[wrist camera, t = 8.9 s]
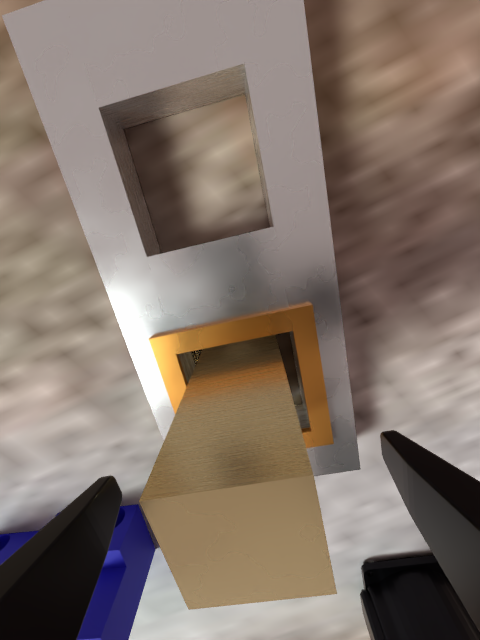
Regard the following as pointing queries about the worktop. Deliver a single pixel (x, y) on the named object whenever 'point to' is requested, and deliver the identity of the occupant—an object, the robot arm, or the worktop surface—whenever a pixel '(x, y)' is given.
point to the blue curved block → (110, 576)
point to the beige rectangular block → (238, 486)
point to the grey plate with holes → (217, 256)
